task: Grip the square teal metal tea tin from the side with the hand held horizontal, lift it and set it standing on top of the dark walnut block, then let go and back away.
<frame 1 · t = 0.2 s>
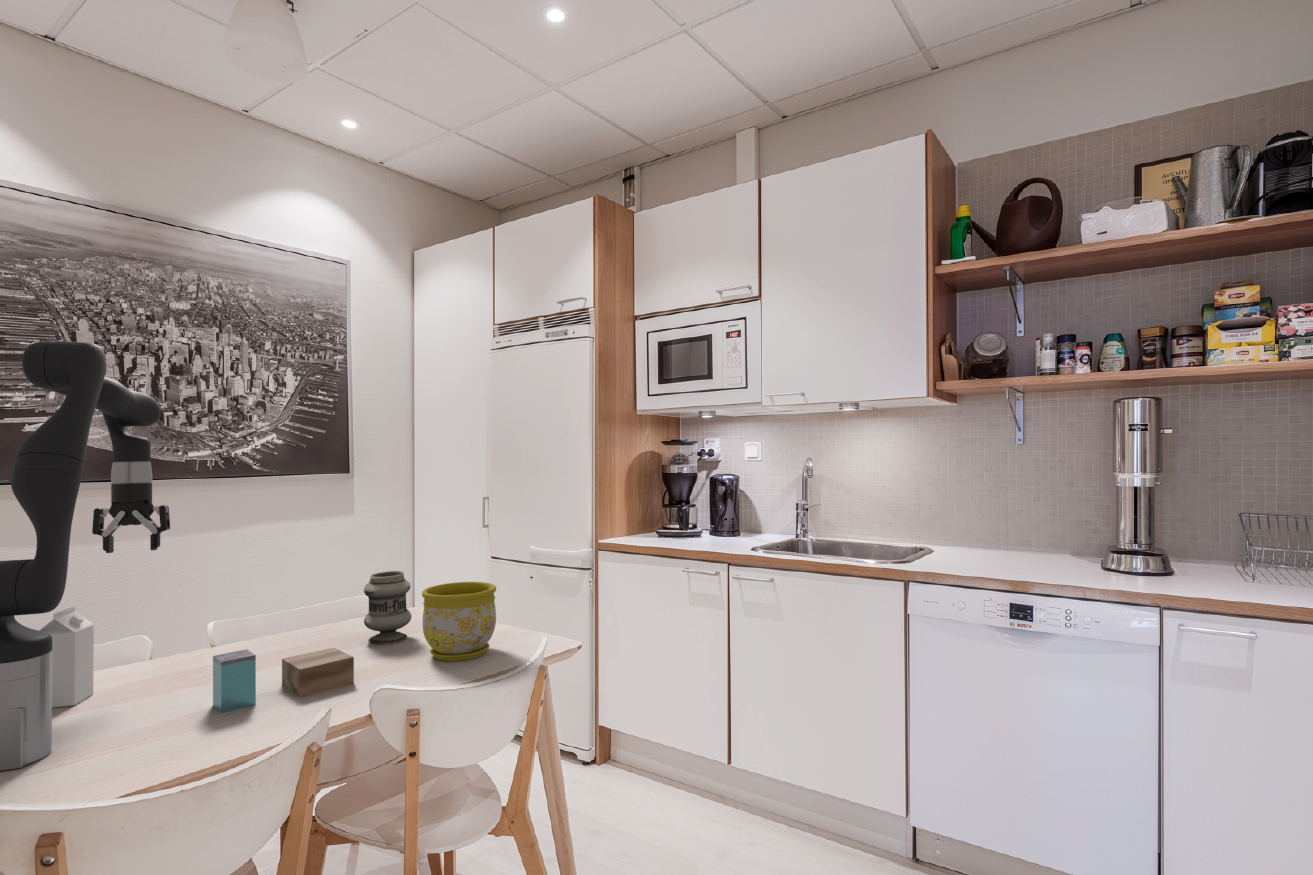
hand: (132, 551, 154), 29 cm above the table, tool pointing down, fingers open, 8 cm apart
apothecary jar: (388, 640, 181), on the table
tea tin: (234, 705, 134), on the table
flowerpot: (460, 654, 167), on the table
walnut block: (318, 685, 146), on the table
milk carton: (63, 703, 137), on the table
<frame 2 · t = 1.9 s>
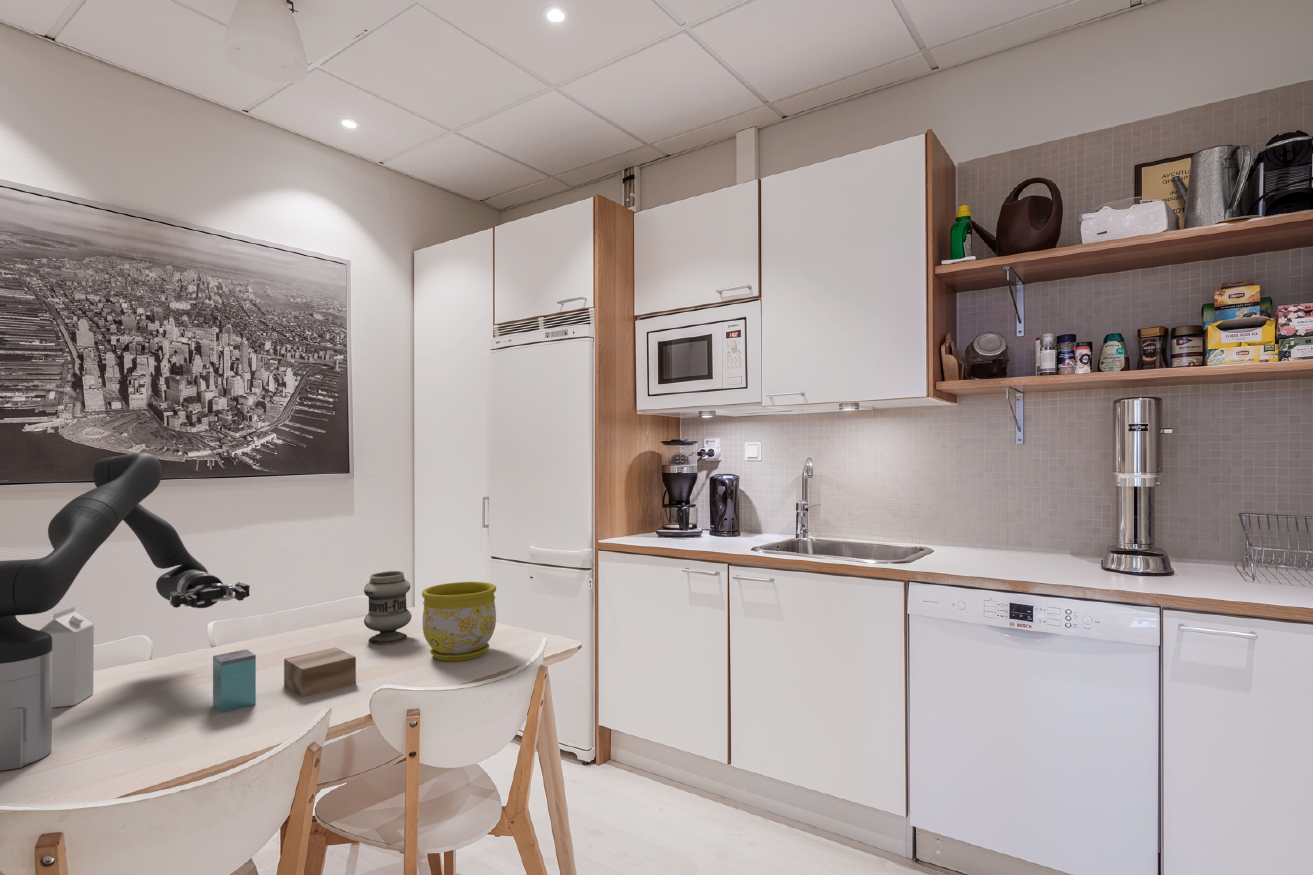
hand: (219, 599, 142), 20 cm above the table, tool horizontal, fingers open, 8 cm apart
nothing on the table moved.
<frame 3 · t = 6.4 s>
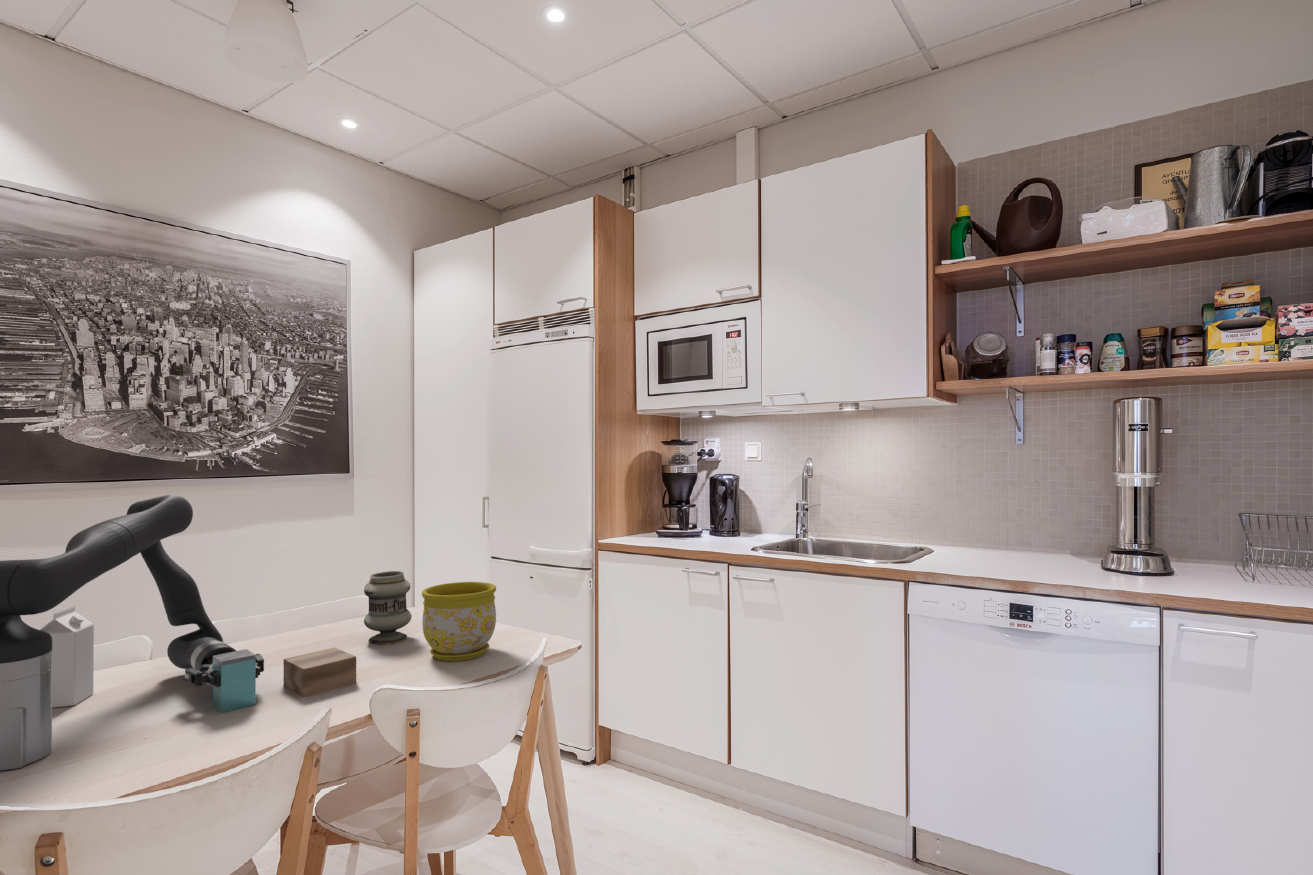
hand: (237, 677, 133), 6 cm above the table, tool horizontal, fingers closed on tea tin, 6 cm apart
tea tin: (234, 704, 134), on the table, touching gripper
everything else where it was.
when the fingers open (13 cm above the table, at t = 12.0 s): tea tin drops 1 cm, resting on walnut block.
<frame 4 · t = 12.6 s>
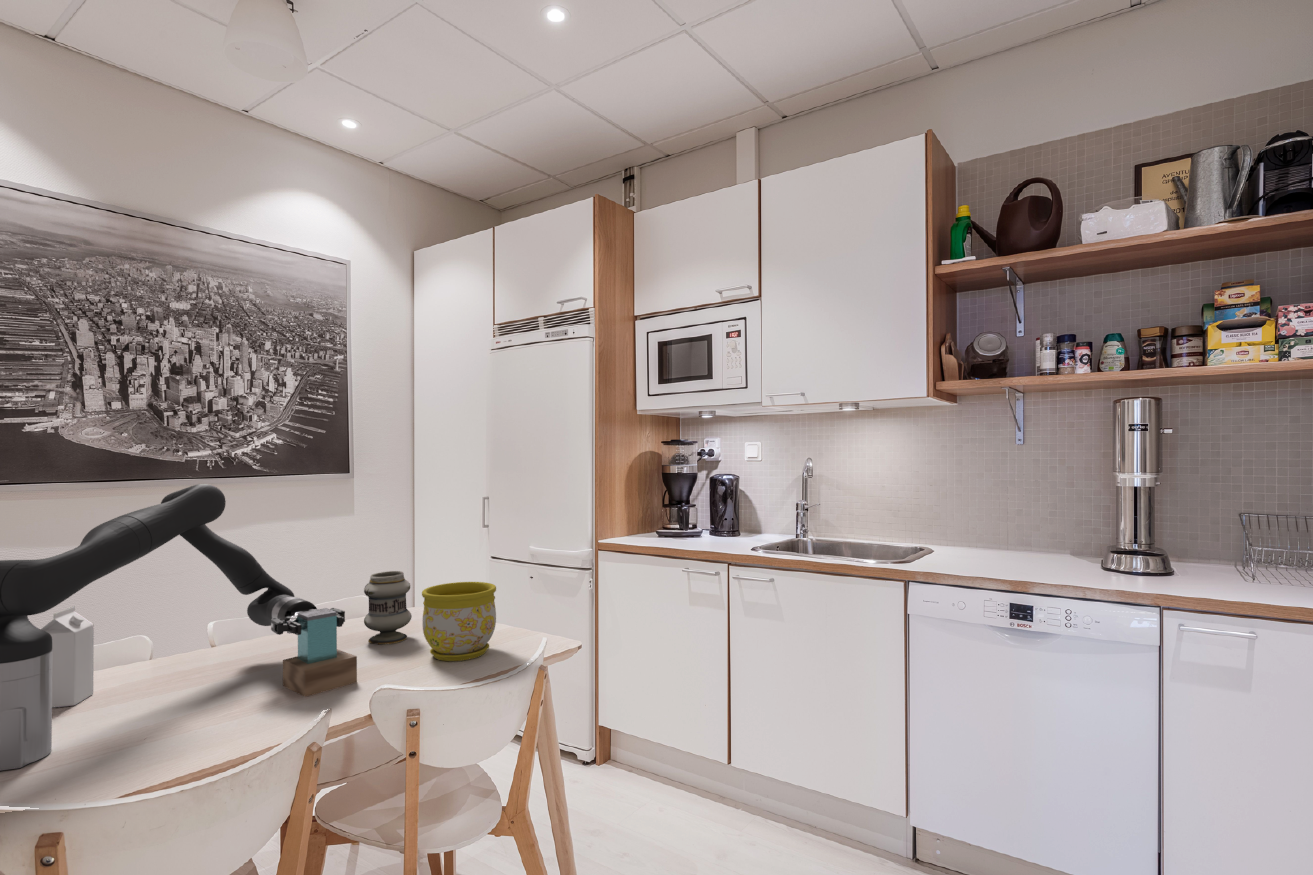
hand: (320, 625, 145), 13 cm above the table, tool horizontal, fingers open, 8 cm apart
tea tin: (317, 657, 146), point 6 cm above the table, touching walnut block
walnut block: (320, 685, 146), on the table, touching tea tin
everything else where it was.
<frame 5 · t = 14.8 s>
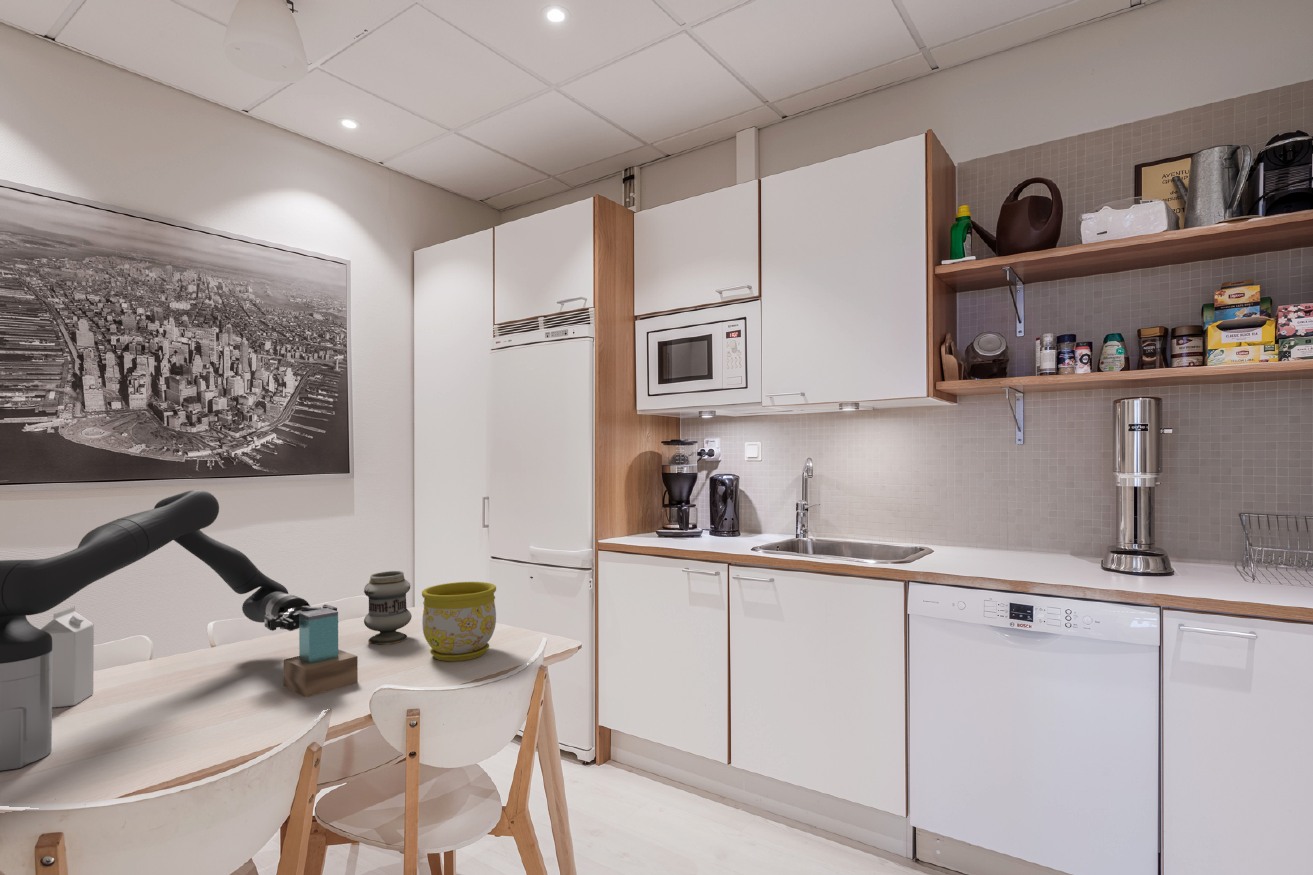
hand: (312, 622, 148), 13 cm above the table, tool horizontal, fingers open, 8 cm apart
nothing on the table moved.
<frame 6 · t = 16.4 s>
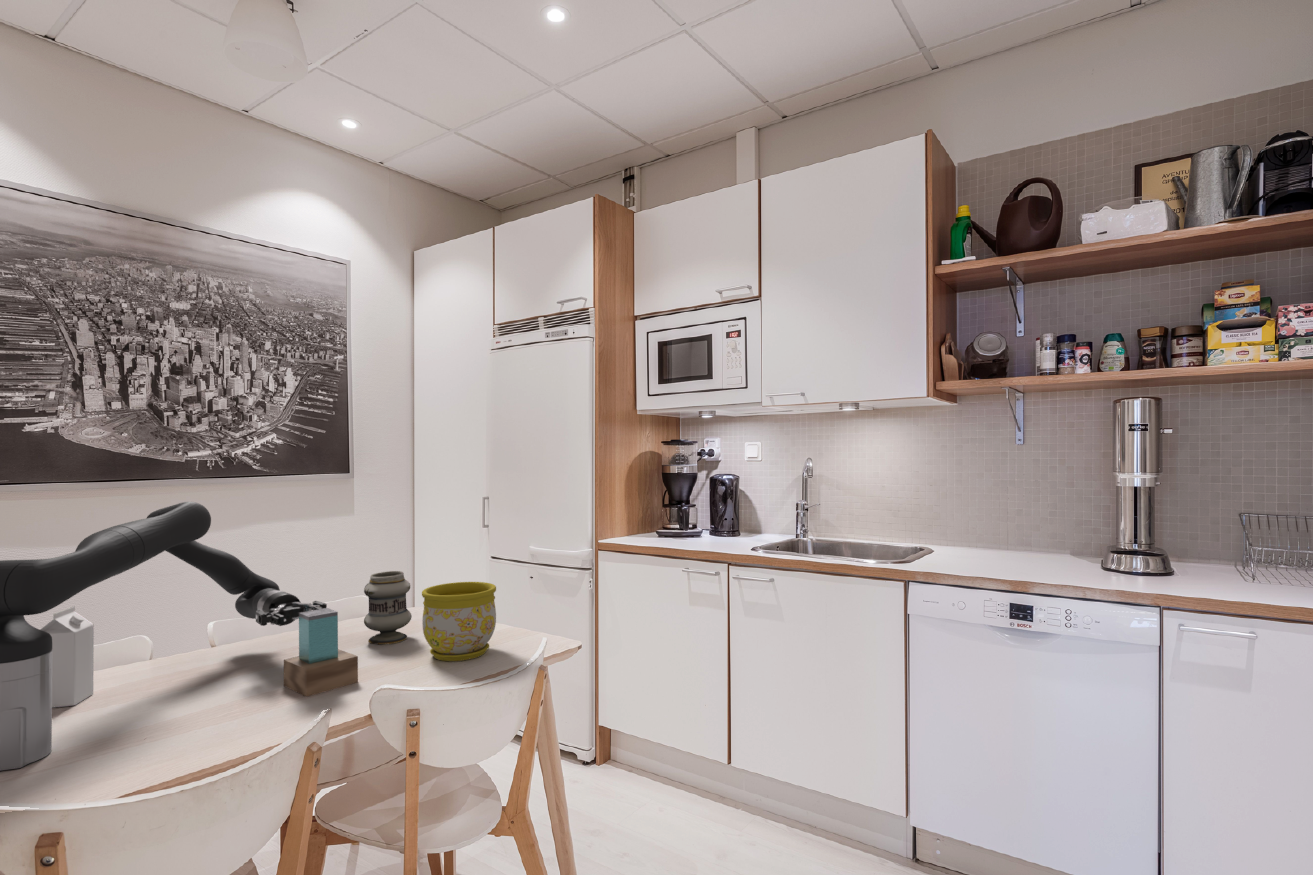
hand: (302, 617, 152), 13 cm above the table, tool horizontal, fingers open, 8 cm apart
tea tin: (318, 657, 146), point 6 cm above the table
walnut block: (321, 685, 146), on the table
everything else where it was.
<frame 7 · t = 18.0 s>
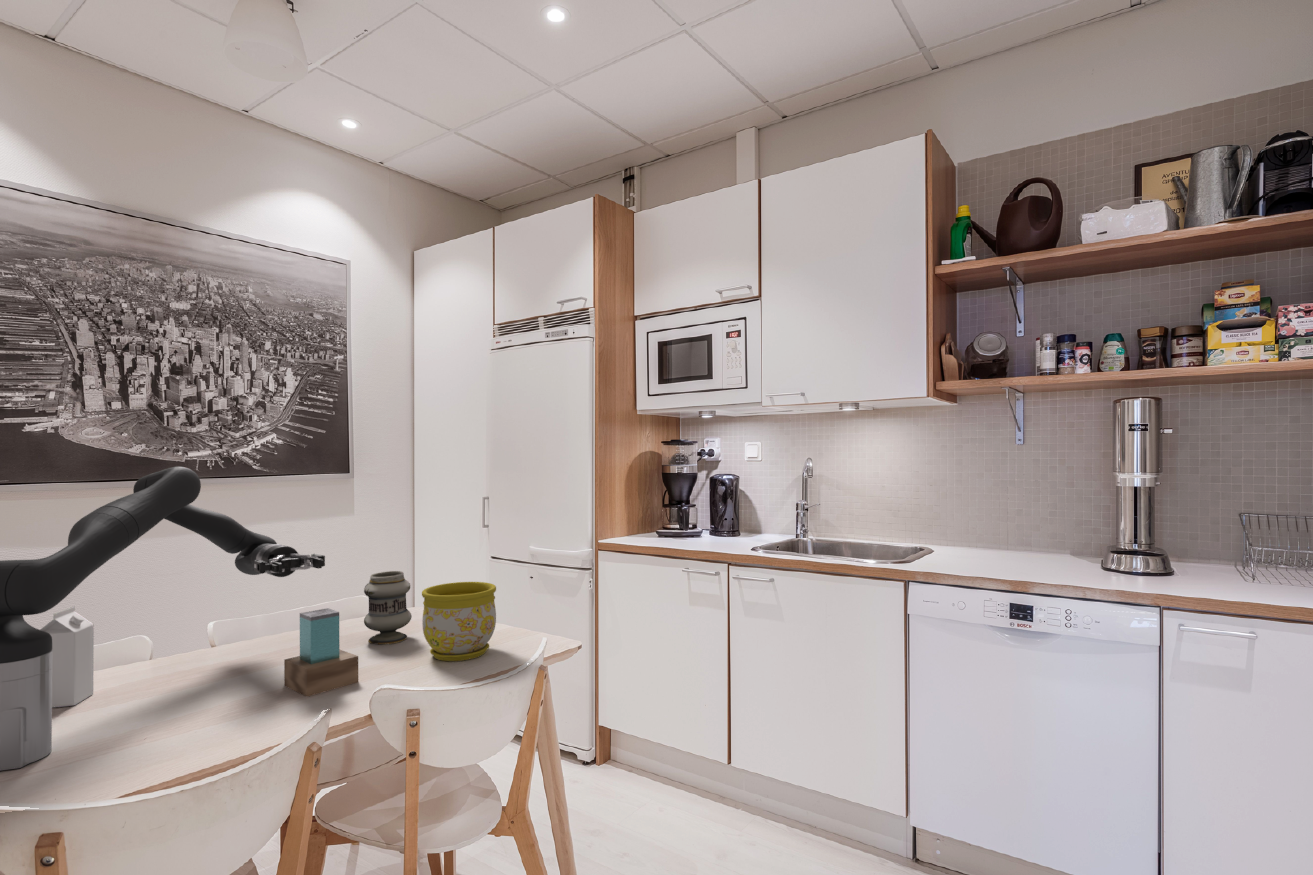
hand: (301, 566, 153), 25 cm above the table, tool horizontal, fingers open, 8 cm apart
tea tin: (319, 658, 146), point 6 cm above the table, touching walnut block
walnut block: (321, 685, 146), on the table, touching tea tin
everything else where it was.
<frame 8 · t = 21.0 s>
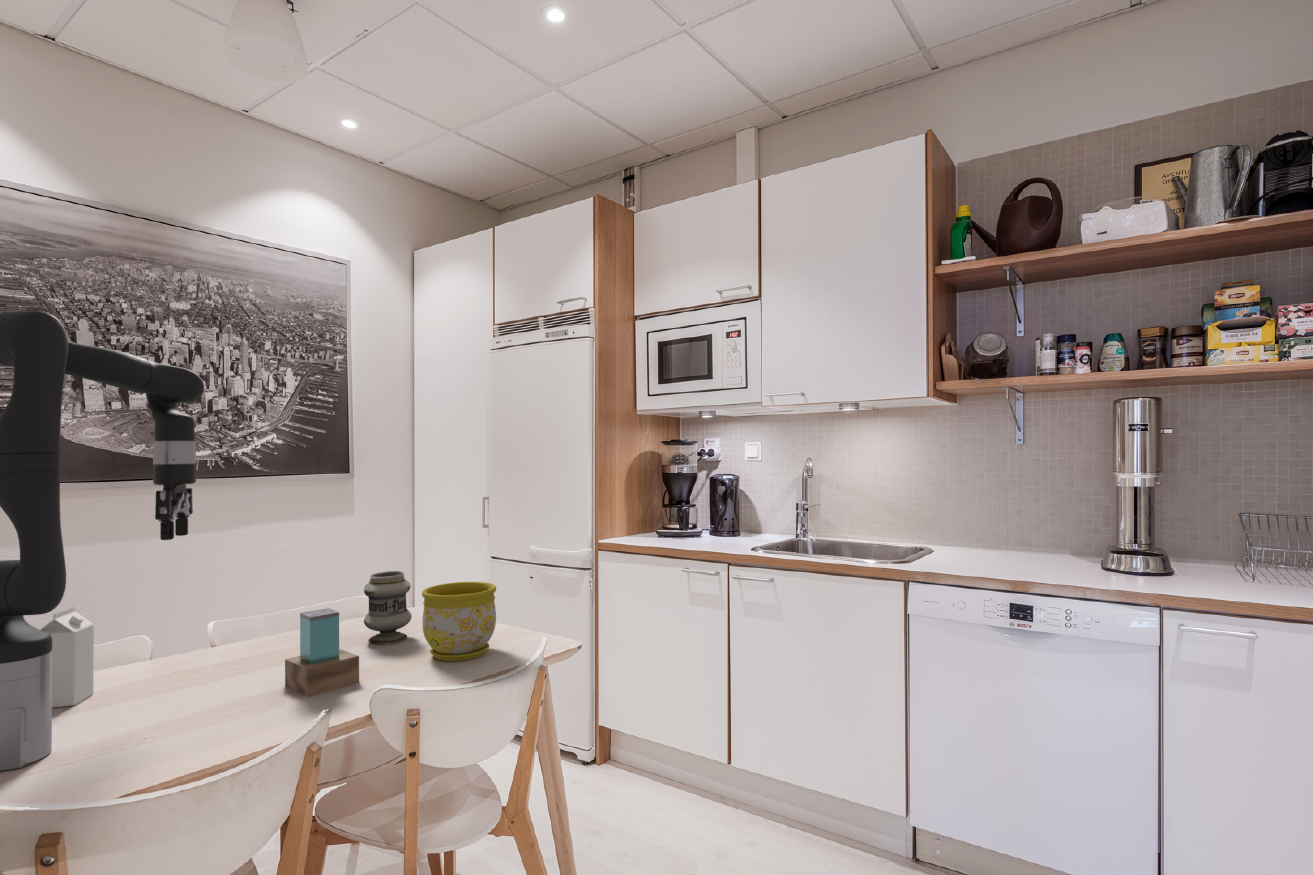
hand: (174, 537, 143), 33 cm above the table, tool pointing down, fingers open, 8 cm apart
tea tin: (319, 658, 146), point 6 cm above the table
walnut block: (322, 684, 146), on the table
everything else where it was.
at the end: tea tin inside the target area on the walnut block (0.4 cm from its centre), point 6.0 cm above the walnut block's base; tea tin tilted 0°; the gripper is holding nothing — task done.
